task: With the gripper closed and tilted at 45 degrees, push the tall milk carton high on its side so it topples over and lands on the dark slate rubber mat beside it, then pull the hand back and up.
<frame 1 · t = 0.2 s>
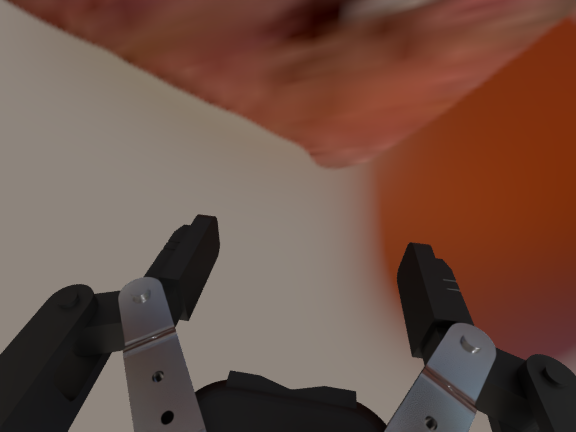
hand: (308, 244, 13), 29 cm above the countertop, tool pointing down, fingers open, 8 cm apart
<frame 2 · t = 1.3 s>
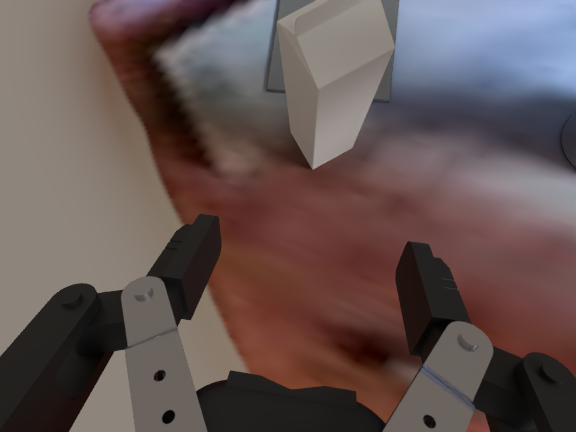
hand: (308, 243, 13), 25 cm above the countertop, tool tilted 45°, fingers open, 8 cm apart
milk: (321, 140, 40), on the countertop
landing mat: (336, 18, 42), on the countertop
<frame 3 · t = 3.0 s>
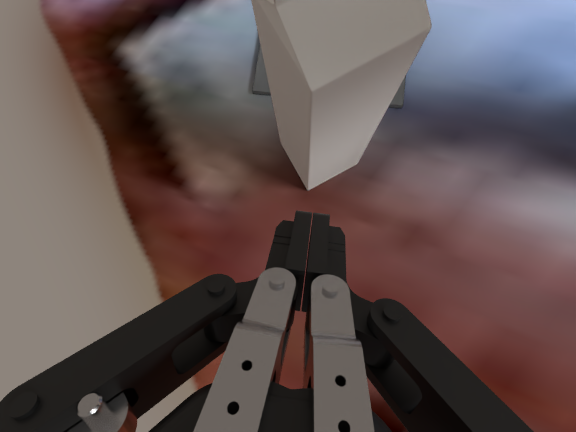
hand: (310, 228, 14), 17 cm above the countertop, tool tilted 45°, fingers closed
milk: (318, 154, 32), on the countertop
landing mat: (338, 6, 34), on the countertop
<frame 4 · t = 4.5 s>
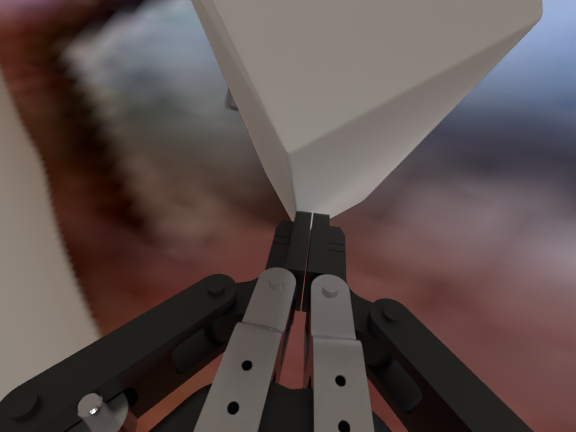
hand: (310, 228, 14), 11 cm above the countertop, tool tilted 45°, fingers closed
milk: (313, 187, 25), on the countertop, touching gripper
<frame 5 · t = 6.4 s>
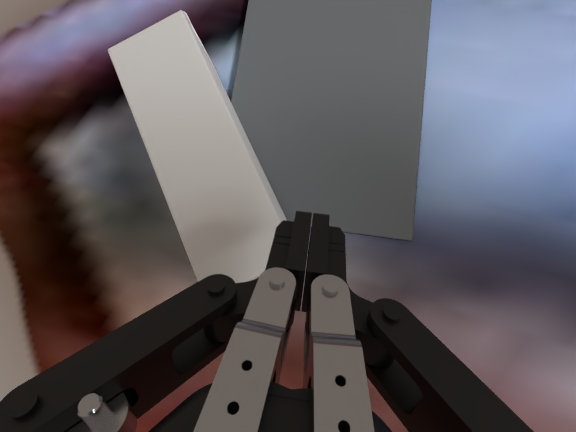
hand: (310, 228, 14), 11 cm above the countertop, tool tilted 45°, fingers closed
milk: (263, 280, 20), point 4 cm above the countertop, touching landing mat
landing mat: (326, 96, 26), on the countertop
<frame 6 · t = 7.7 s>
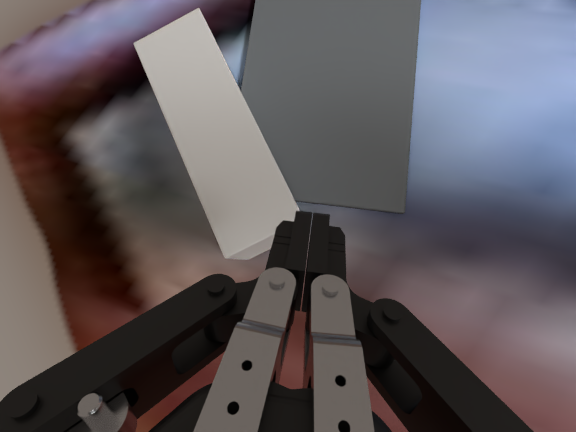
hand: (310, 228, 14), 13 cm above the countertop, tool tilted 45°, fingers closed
milk: (273, 245, 23), point 4 cm above the countertop, touching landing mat
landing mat: (326, 85, 29), on the countertop
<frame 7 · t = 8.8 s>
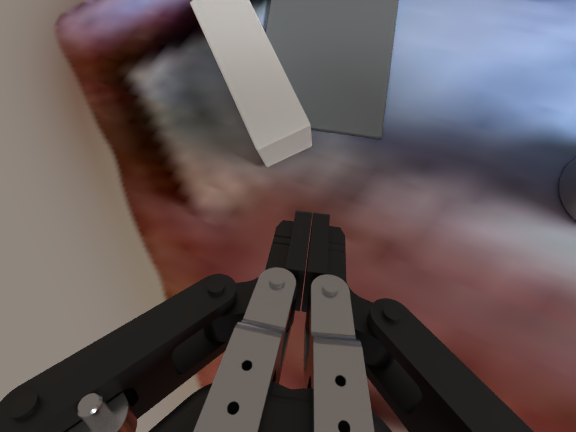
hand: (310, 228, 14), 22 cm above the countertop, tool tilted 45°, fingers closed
milk: (287, 149, 33), point 4 cm above the countertop, touching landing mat
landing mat: (327, 44, 39), on the countertop
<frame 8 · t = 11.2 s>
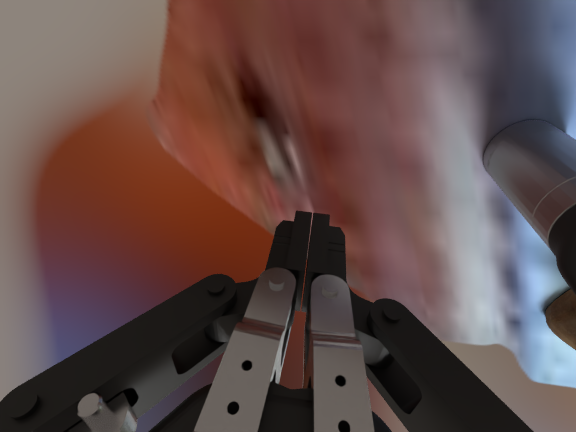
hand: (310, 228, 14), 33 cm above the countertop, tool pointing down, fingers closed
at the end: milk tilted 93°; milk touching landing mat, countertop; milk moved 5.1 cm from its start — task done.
